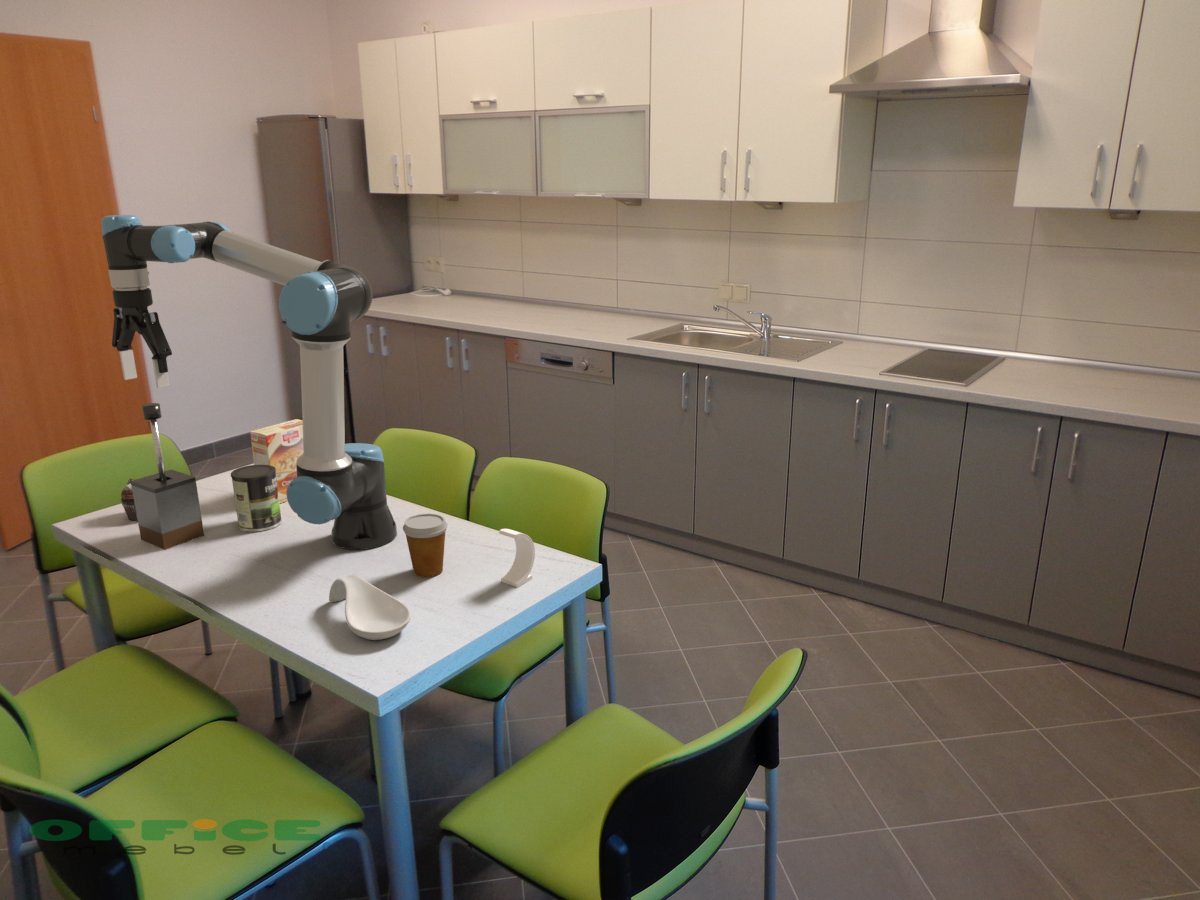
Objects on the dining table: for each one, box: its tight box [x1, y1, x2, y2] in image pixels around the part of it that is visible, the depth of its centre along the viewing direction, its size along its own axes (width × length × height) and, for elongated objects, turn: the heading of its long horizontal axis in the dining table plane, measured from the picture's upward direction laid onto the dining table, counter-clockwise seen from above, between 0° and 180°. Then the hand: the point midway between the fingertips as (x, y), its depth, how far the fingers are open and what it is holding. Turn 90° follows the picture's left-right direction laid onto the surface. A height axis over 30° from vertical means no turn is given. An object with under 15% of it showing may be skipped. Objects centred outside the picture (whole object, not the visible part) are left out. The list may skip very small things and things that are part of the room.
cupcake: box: [120, 478, 138, 523], centre depth 217 cm, size 10×10×10 cm
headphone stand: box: [498, 528, 536, 588], centre depth 183 cm, size 5×6×12 cm
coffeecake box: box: [249, 418, 304, 505], centre depth 230 cm, size 15×7×20 cm, turn 147°
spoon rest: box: [328, 574, 412, 641], centre depth 167 cm, size 24×12×7 cm, turn 42°
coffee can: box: [230, 464, 283, 533], centre depth 212 cm, size 10×10×14 cm
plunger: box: [141, 402, 167, 482], centre depth 199 cm, size 7×7×20 cm
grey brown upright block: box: [131, 468, 205, 551], centre depth 203 cm, size 10×10×15 cm
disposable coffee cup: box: [402, 512, 449, 578], centre depth 187 cm, size 10×10×12 cm
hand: (146, 382), depth 194 cm, fingers open, 13 cm apart
